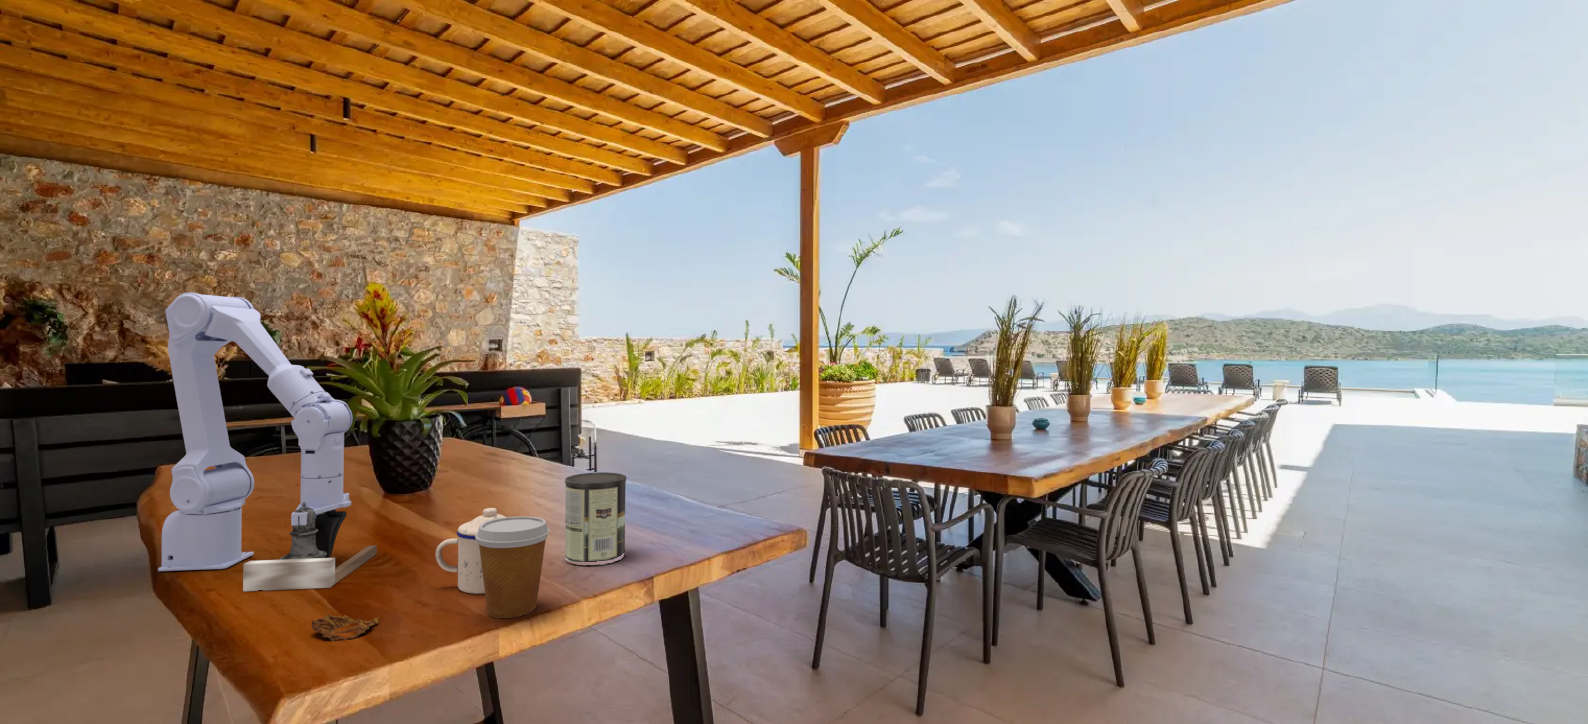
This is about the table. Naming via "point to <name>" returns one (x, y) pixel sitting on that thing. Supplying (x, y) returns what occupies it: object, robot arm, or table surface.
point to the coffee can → (595, 517)
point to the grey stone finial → (304, 538)
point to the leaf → (335, 622)
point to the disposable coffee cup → (512, 563)
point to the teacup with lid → (468, 554)
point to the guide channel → (300, 572)
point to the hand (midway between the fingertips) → (321, 558)
